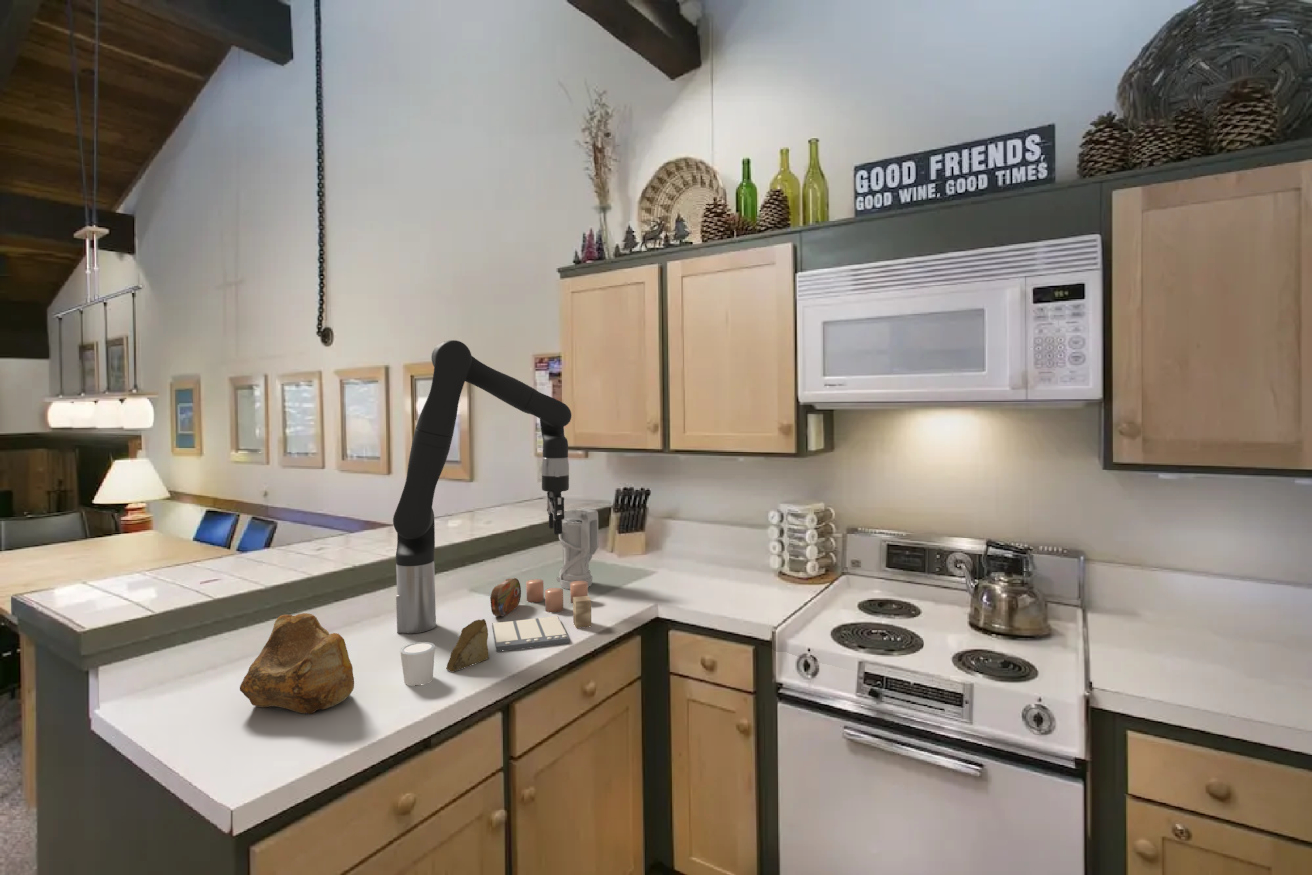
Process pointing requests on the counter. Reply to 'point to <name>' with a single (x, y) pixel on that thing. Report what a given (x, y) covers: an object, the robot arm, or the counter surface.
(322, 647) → the brown rough lump
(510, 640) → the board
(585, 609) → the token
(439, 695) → the counter surface
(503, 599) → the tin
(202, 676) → the counter surface
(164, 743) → the counter surface
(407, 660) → the white cup
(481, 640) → the rock
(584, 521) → the lantern
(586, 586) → the cylinder
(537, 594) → the peach rounded cylinder
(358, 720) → the counter surface
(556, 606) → the peach dome knob
